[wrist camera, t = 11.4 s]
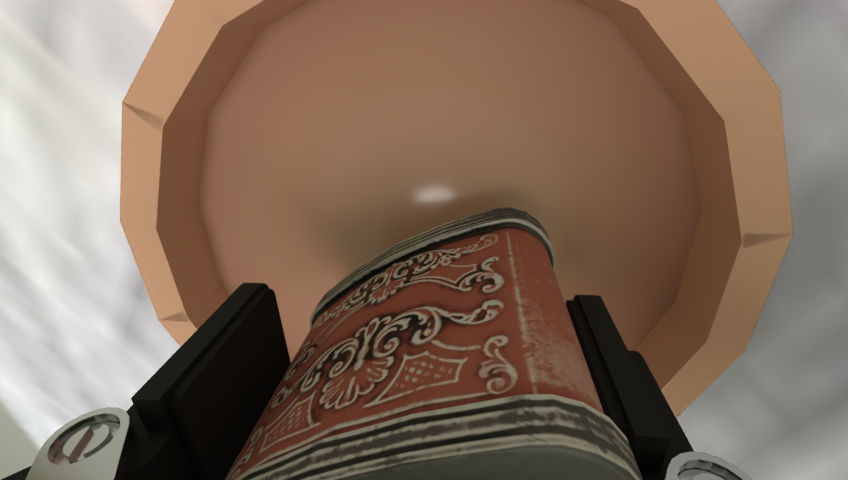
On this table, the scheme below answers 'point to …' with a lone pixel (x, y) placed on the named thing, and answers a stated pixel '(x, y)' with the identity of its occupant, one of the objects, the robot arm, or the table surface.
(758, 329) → the table surface
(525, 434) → the lighter
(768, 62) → the table surface
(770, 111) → the round bowl
